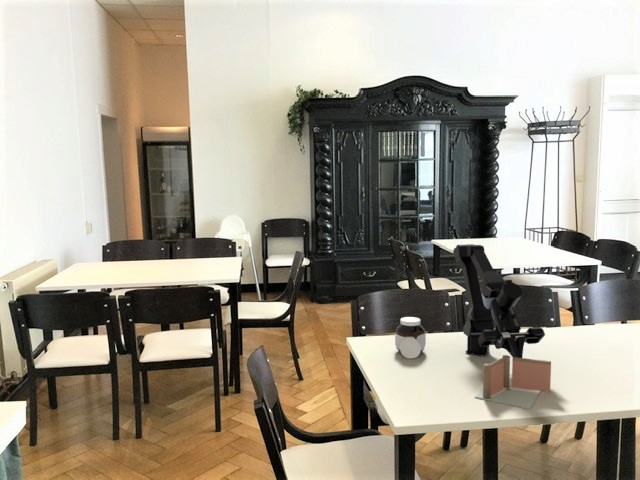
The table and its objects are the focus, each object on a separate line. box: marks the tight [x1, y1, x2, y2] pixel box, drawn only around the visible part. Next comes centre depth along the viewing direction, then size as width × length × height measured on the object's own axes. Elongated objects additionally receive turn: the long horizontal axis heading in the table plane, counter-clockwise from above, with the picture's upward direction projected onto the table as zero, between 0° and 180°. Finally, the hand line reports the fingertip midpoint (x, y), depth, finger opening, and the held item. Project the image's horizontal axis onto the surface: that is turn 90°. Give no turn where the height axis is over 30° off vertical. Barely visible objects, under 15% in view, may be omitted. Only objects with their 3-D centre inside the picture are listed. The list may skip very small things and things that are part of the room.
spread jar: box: [394, 316, 427, 360], centre depth 183 cm, size 12×11×12 cm
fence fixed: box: [482, 358, 512, 399], centre depth 149 cm, size 6×13×10 cm, turn 147°
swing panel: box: [501, 354, 552, 393], centre depth 150 cm, size 13×2×9 cm, turn 67°
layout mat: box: [474, 373, 542, 410], centre depth 151 cm, size 14×22×1 cm, turn 147°
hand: (520, 363), depth 154 cm, fingers closed
